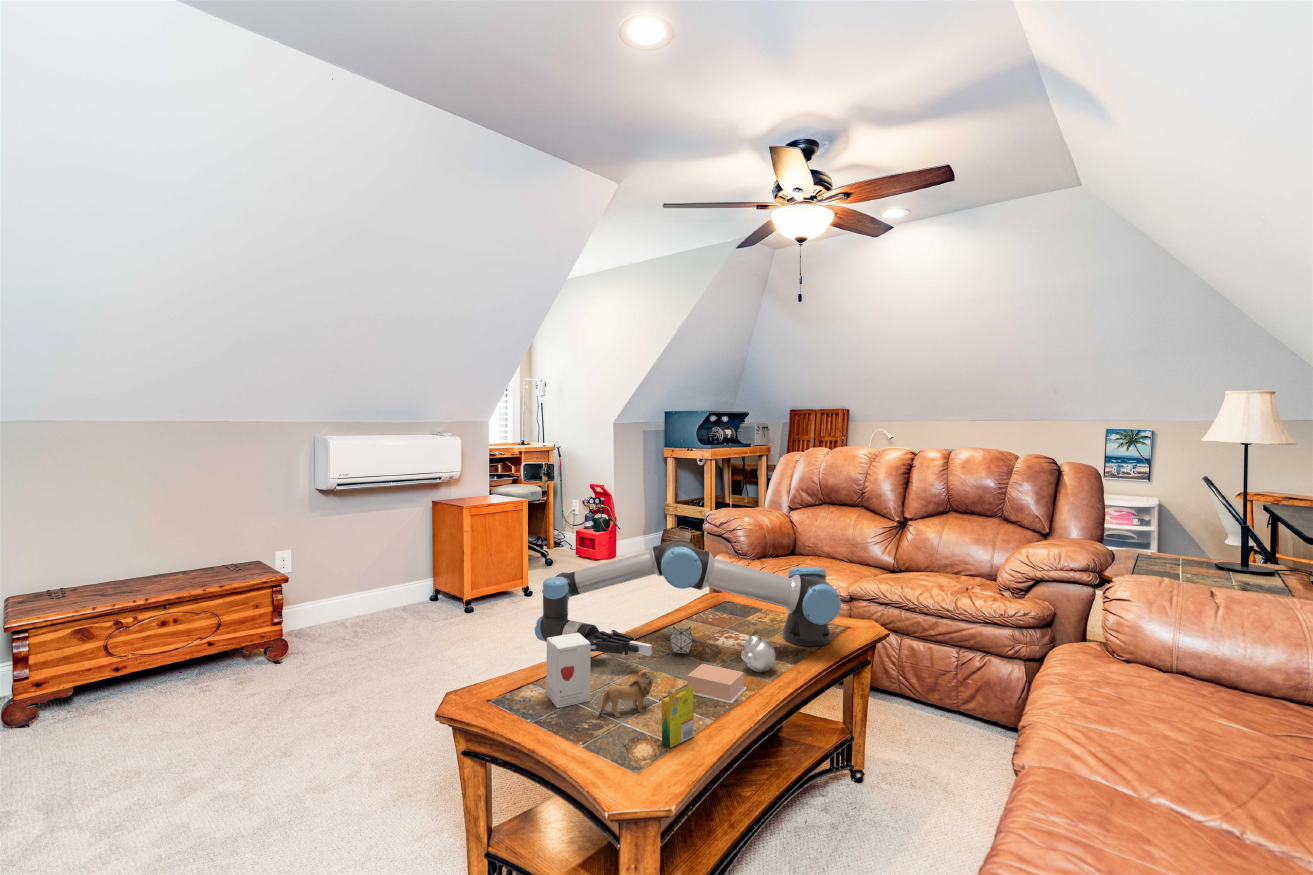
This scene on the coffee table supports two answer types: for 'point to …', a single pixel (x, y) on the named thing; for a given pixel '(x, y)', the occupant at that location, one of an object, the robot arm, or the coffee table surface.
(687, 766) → the coffee table surface
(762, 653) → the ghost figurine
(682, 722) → the crayon box
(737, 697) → the felt mat
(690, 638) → the game die
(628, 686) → the lion figurine
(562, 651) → the supplement box
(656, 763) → the coffee table surface
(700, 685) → the peach rectangular block
